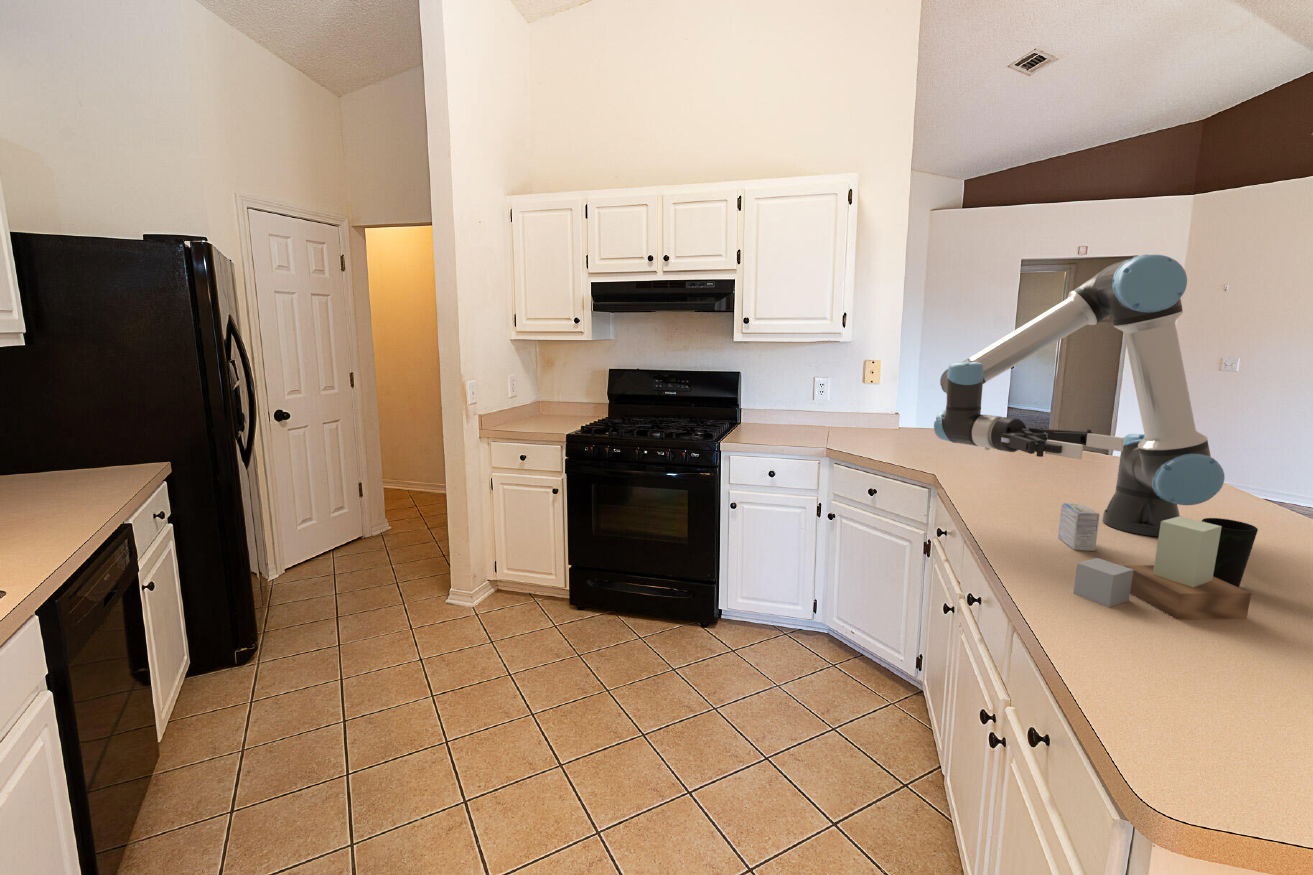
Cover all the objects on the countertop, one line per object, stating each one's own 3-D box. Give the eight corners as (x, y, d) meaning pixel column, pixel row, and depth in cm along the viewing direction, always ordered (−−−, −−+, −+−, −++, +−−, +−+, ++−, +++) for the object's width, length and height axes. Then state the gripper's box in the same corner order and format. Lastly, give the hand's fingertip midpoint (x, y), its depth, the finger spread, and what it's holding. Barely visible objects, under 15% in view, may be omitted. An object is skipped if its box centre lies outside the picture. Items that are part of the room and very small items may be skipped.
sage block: (1171, 568, 110) (1180, 516, 108) (1212, 580, 105) (1221, 526, 103) (1152, 574, 108) (1161, 521, 106) (1193, 587, 103) (1202, 531, 101)
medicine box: (1095, 551, 131) (1100, 513, 130) (1072, 550, 132) (1077, 512, 130) (1078, 539, 139) (1083, 503, 137) (1056, 538, 140) (1061, 502, 138)
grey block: (1093, 588, 113) (1097, 557, 112) (1128, 601, 108) (1133, 569, 107) (1073, 593, 111) (1077, 563, 110) (1108, 607, 105) (1113, 575, 104)
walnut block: (1183, 590, 113) (1187, 565, 112) (1246, 620, 101) (1251, 593, 100) (1120, 590, 113) (1124, 565, 112) (1175, 621, 101) (1180, 593, 100)
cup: (1232, 579, 117) (1243, 520, 115) (1255, 595, 110) (1268, 532, 108) (1183, 573, 119) (1193, 516, 117) (1203, 589, 112) (1214, 528, 110)
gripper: (1033, 443, 142) (1136, 459, 123) (961, 455, 131) (1061, 474, 112) (1036, 412, 141) (1140, 423, 122) (963, 421, 130) (1064, 435, 111)
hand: (1102, 448), depth 117 cm, fingers open, 13 cm apart
